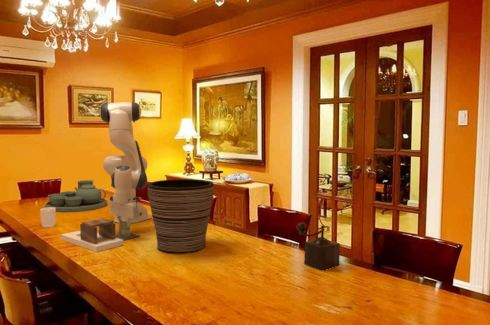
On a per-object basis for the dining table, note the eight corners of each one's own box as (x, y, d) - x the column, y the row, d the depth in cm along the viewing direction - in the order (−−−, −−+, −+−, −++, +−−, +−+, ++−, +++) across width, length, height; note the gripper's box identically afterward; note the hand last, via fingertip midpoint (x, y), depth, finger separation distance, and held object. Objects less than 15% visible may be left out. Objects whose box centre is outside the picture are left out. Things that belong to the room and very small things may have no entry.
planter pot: (150, 259, 173) (149, 189, 170) (147, 240, 202) (146, 180, 199) (219, 253, 181) (219, 186, 178) (207, 236, 210) (207, 178, 207)
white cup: (50, 228, 225) (49, 210, 224) (37, 227, 227) (36, 209, 226) (59, 224, 233) (58, 207, 232) (47, 224, 234) (46, 206, 233)
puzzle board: (87, 233, 214) (87, 229, 213) (123, 245, 193) (123, 239, 193) (61, 239, 203) (60, 234, 202) (96, 252, 183) (96, 246, 182)
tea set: (45, 204, 295) (44, 181, 294) (103, 200, 312) (102, 178, 311) (45, 215, 259) (43, 189, 258) (110, 209, 277) (110, 185, 275)
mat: (127, 232, 216) (127, 232, 216) (140, 236, 209) (140, 235, 209) (108, 237, 207) (108, 236, 207) (121, 241, 200) (121, 240, 200)
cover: (101, 234, 202) (101, 218, 201) (115, 238, 195) (115, 221, 194) (80, 238, 194) (80, 221, 193) (94, 243, 186) (94, 225, 185)
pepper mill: (319, 258, 175) (320, 217, 173) (340, 265, 166) (341, 222, 165) (293, 266, 165) (294, 222, 164) (313, 274, 157) (314, 228, 155)
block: (118, 236, 208) (118, 222, 207) (125, 234, 211) (125, 221, 210) (123, 237, 205) (123, 223, 205) (130, 235, 208) (130, 222, 208)
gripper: (141, 199, 202) (142, 227, 203) (117, 195, 215) (118, 221, 216) (130, 201, 197) (131, 229, 198) (107, 196, 210) (107, 223, 211)
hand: (124, 225), depth 207 cm, fingers open, 5 cm apart
